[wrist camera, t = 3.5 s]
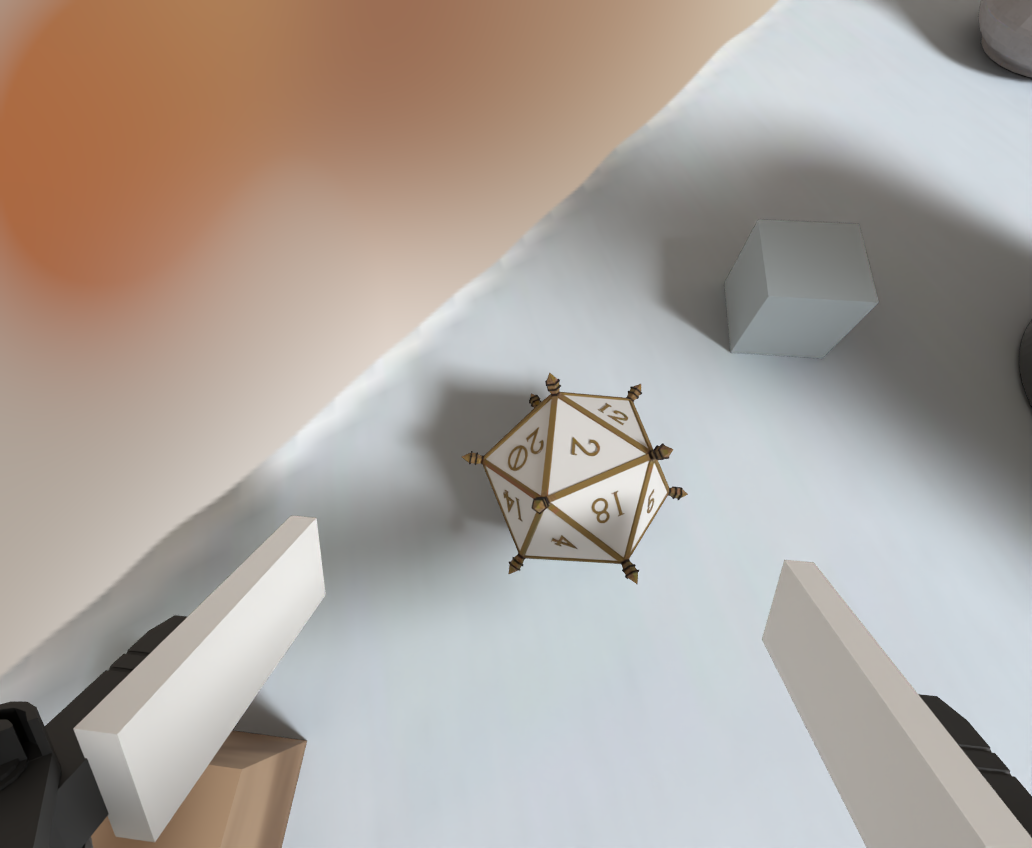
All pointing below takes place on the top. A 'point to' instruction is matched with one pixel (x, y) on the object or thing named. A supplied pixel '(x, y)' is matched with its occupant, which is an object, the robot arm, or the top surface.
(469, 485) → the top surface
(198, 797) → the walnut block
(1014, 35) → the coffee pot
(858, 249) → the light grey cube
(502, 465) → the game die
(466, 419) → the top surface
